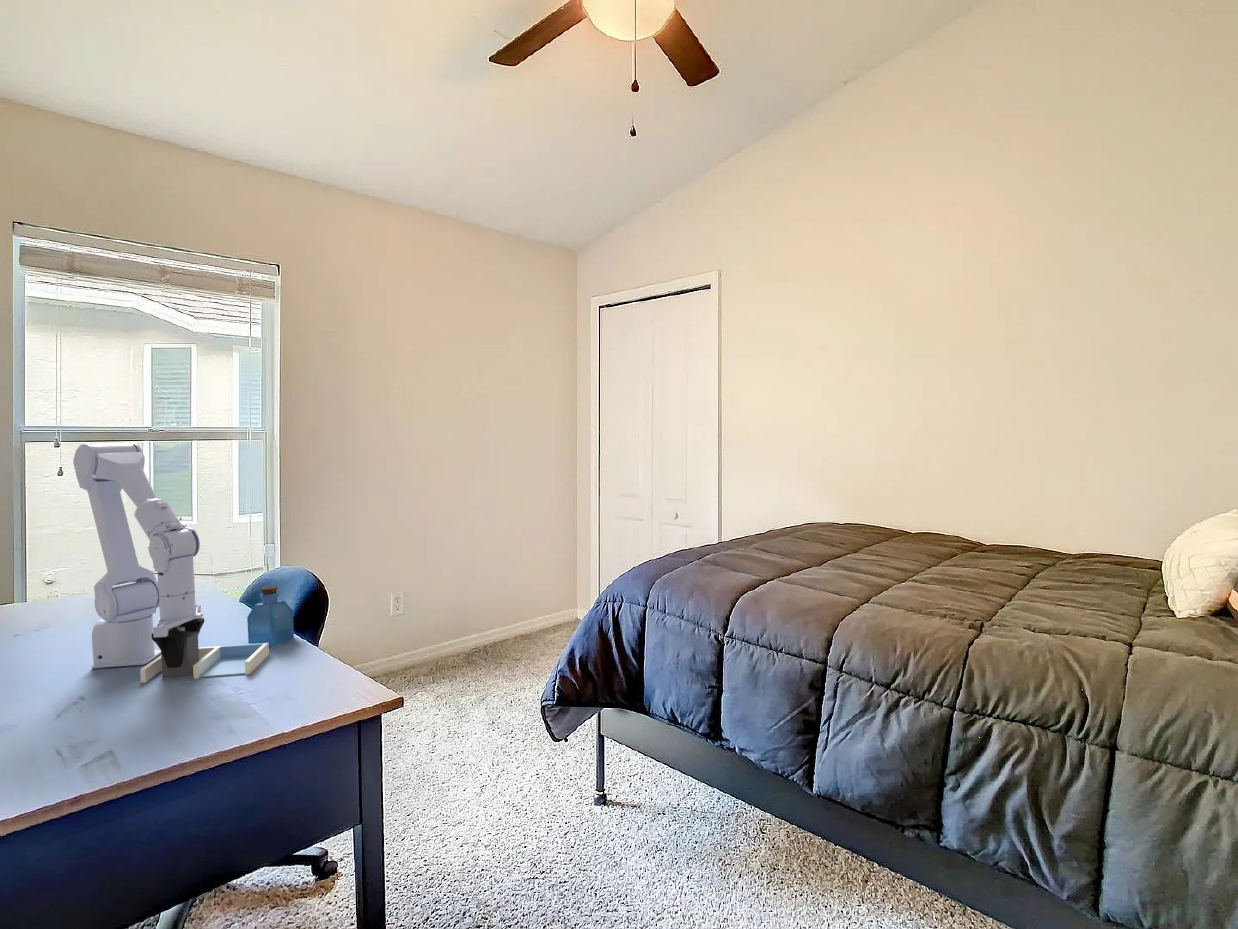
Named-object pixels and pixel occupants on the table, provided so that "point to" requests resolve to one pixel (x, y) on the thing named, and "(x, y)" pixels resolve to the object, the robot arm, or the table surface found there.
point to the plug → (184, 657)
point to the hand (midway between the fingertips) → (180, 662)
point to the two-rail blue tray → (218, 661)
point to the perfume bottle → (270, 619)
